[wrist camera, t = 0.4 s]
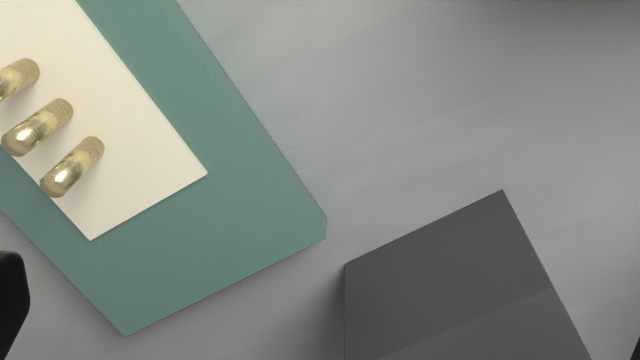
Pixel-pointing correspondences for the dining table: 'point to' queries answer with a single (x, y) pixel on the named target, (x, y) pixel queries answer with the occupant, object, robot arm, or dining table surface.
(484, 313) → the block
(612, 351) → the dining table surface
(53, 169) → the header pins
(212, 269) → the header board
